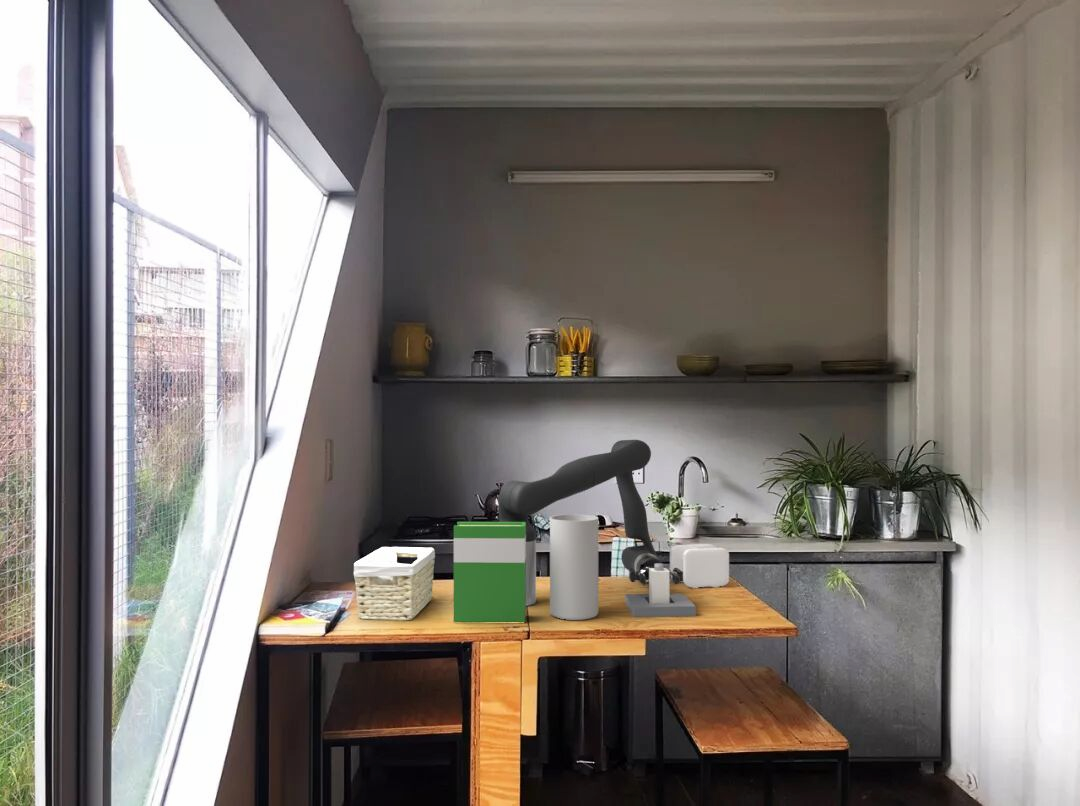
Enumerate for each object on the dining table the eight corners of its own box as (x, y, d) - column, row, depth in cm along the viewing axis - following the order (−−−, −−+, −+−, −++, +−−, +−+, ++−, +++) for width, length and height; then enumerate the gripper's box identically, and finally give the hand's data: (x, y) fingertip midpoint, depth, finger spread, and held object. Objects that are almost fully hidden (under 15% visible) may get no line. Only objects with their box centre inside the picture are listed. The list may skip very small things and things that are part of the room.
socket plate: (633, 616, 194) (633, 607, 195) (625, 603, 208) (625, 594, 208) (695, 616, 195) (695, 606, 195) (683, 602, 209) (683, 593, 209)
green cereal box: (453, 622, 189) (453, 526, 189) (457, 615, 196) (457, 521, 197) (524, 623, 189) (524, 526, 189) (525, 615, 196) (525, 522, 196)
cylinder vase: (544, 619, 192) (544, 520, 193) (556, 607, 204) (556, 513, 205) (593, 622, 189) (593, 521, 189) (602, 610, 201) (602, 515, 202)
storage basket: (413, 623, 189) (413, 563, 189) (350, 621, 191) (350, 562, 191) (436, 599, 213) (437, 547, 213) (380, 598, 215) (380, 545, 215)
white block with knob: (652, 611, 199) (652, 566, 200) (649, 607, 204) (649, 562, 204) (669, 611, 200) (669, 565, 200) (665, 607, 204) (665, 562, 204)
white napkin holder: (682, 589, 225) (682, 550, 225) (669, 582, 235) (669, 544, 235) (729, 587, 228) (729, 548, 228) (714, 579, 238) (714, 542, 238)
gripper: (624, 555, 216) (633, 566, 200) (673, 554, 217) (687, 566, 200) (624, 581, 216) (633, 595, 200) (674, 581, 216) (687, 594, 200)
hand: (660, 580), depth 200 cm, fingers open, 8 cm apart
